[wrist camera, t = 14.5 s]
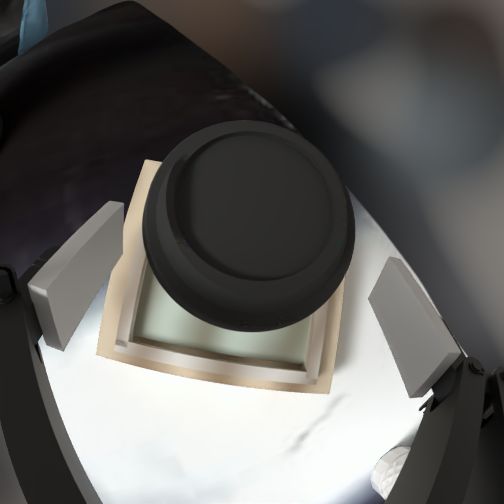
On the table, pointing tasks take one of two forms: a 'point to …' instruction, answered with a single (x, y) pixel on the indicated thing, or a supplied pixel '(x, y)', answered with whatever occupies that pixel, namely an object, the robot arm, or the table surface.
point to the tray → (207, 328)
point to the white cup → (388, 470)
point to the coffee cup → (248, 226)
